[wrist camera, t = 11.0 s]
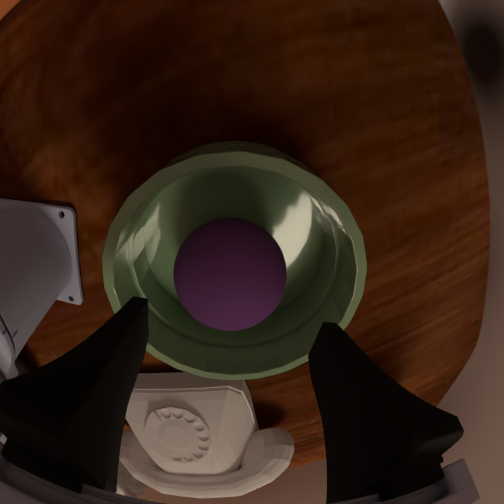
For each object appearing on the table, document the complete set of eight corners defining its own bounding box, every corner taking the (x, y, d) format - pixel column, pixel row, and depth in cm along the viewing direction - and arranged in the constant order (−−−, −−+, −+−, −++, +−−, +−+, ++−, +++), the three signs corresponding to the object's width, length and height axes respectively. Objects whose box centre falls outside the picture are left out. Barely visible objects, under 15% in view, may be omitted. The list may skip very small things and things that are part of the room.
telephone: (290, 436, 31) (300, 500, 23) (141, 441, 31) (132, 499, 23) (285, 359, 24) (302, 455, 16) (83, 369, 24) (54, 444, 16)
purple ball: (181, 280, 19) (160, 342, 14) (191, 194, 17) (163, 237, 11) (269, 295, 20) (274, 361, 15) (292, 213, 17) (309, 263, 12)
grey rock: (71, 432, 30) (80, 422, 34) (69, 472, 28) (77, 461, 32) (158, 465, 31) (161, 452, 35) (149, 502, 30) (152, 489, 34)
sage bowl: (134, 308, 21) (113, 361, 16) (143, 126, 15) (104, 134, 10) (302, 332, 23) (316, 385, 18) (359, 167, 17) (403, 191, 12)
